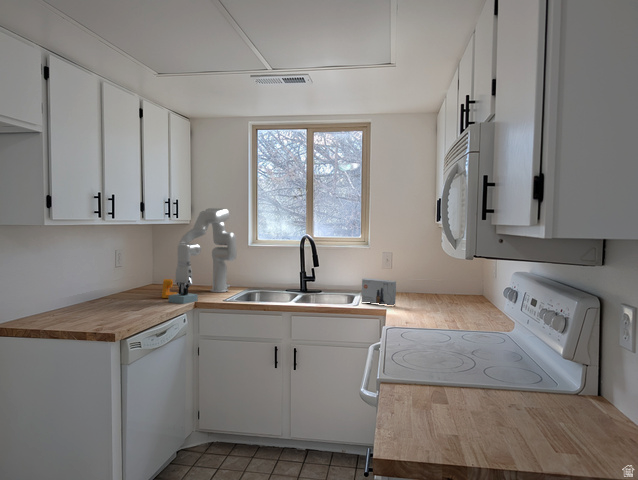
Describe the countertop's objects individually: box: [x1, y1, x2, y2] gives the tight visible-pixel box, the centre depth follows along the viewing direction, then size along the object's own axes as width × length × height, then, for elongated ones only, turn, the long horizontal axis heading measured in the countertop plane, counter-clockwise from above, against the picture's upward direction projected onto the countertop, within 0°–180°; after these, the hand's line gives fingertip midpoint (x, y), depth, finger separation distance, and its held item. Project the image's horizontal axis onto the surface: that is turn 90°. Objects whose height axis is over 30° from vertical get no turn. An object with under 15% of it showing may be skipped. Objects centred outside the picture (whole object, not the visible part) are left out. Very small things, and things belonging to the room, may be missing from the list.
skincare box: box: [361, 277, 397, 305], centre depth 267 cm, size 21×5×16 cm, turn 62°
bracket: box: [161, 278, 178, 299], centre depth 272 cm, size 11×7×12 cm, turn 5°
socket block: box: [168, 292, 199, 305], centre depth 261 cm, size 12×12×4 cm
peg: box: [180, 283, 185, 296], centre depth 261 cm, size 3×3×10 cm
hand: (183, 293), depth 261 cm, fingers closed on peg, 3 cm apart
